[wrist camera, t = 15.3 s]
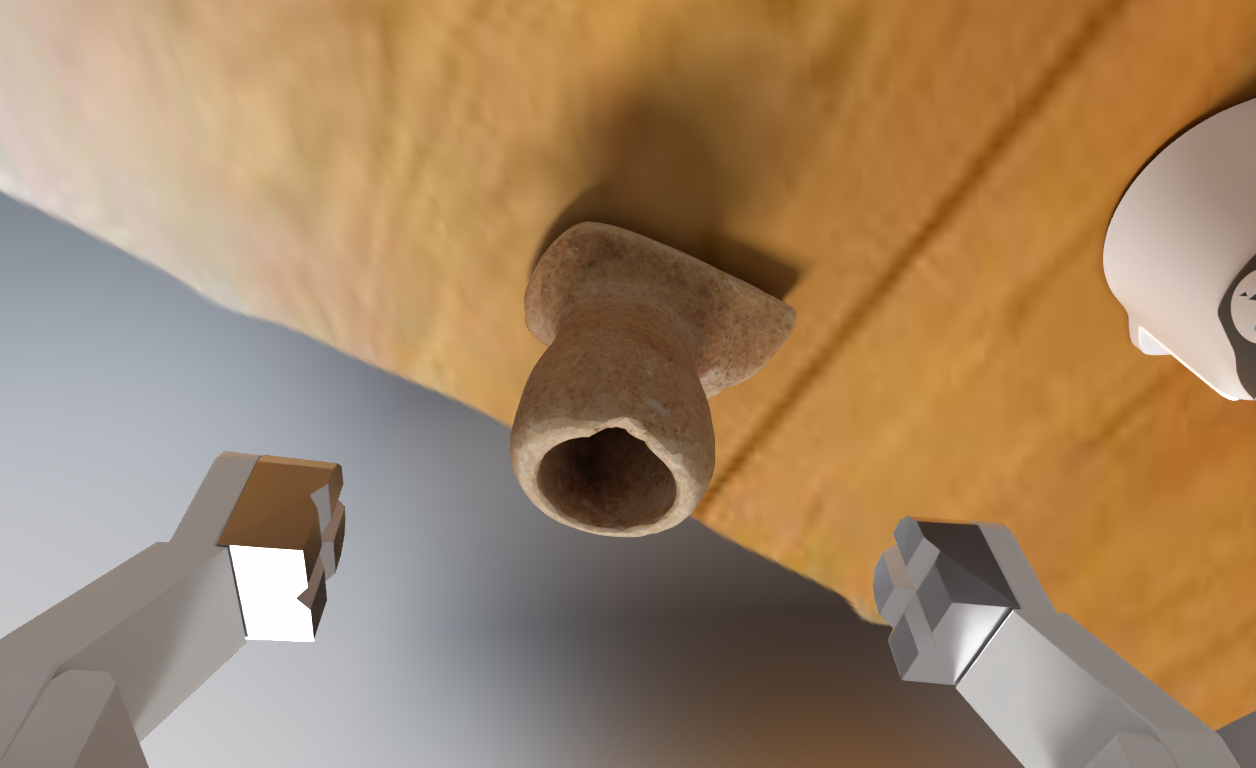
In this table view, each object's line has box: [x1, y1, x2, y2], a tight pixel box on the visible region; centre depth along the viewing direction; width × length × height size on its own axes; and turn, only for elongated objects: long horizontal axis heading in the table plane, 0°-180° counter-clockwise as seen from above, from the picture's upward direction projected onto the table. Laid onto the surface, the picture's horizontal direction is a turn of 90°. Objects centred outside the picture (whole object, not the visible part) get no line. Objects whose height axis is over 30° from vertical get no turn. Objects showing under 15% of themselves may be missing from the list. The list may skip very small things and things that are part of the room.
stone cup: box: [510, 221, 796, 537], centre depth 44 cm, size 15×12×15 cm
